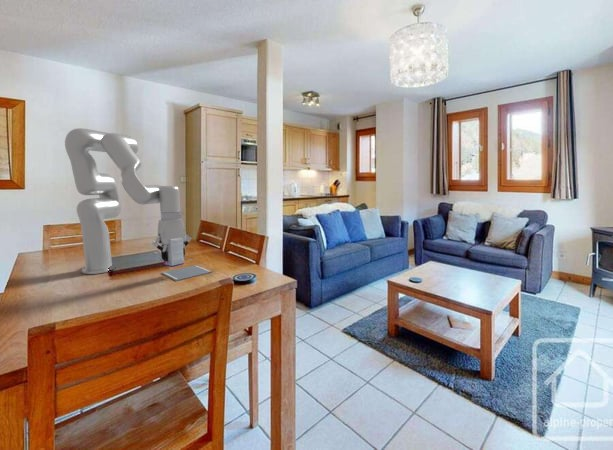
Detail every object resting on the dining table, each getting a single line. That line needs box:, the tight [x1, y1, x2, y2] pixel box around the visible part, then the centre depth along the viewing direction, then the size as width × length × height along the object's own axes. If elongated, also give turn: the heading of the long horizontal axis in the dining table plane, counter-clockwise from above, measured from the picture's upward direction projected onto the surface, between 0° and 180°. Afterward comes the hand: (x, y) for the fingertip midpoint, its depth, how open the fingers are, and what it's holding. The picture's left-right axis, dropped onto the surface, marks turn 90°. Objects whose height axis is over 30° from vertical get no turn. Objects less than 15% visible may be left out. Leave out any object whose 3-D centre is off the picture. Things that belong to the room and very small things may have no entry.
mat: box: [161, 264, 213, 282], centre depth 131 cm, size 14×16×1 cm
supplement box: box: [163, 238, 185, 268], centre depth 125 cm, size 6×6×12 cm
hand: (173, 258), depth 126 cm, fingers closed on supplement box, 6 cm apart
